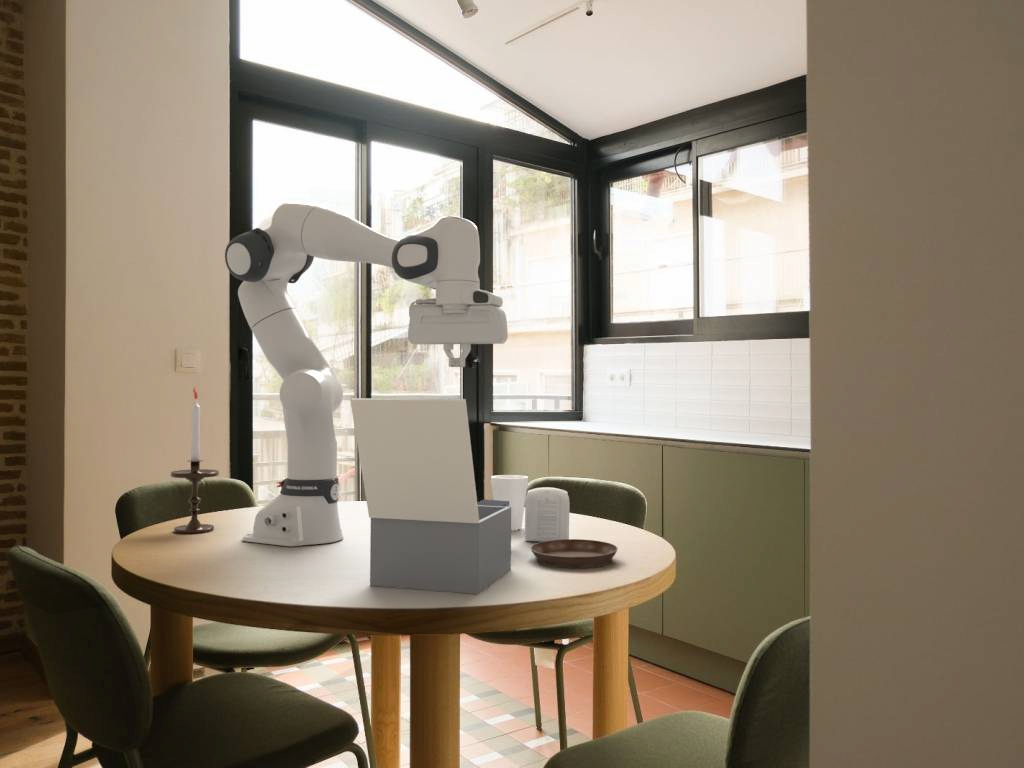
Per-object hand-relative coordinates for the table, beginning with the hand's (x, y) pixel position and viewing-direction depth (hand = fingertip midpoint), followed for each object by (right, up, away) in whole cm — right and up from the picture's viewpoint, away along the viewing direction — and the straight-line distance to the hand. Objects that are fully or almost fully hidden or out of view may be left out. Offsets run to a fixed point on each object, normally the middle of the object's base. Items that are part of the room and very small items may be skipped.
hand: (456, 366), depth 158 cm
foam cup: (+10, -40, +41) cm, 58 cm away
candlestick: (-66, -39, +34) cm, 84 cm away
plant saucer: (+24, -40, +3) cm, 46 cm away
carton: (-1, -39, -13) cm, 41 cm away
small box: (+6, -40, +12) cm, 42 cm away
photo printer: (+19, -40, +24) cm, 50 cm away
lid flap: (-5, -16, -26) cm, 31 cm away
